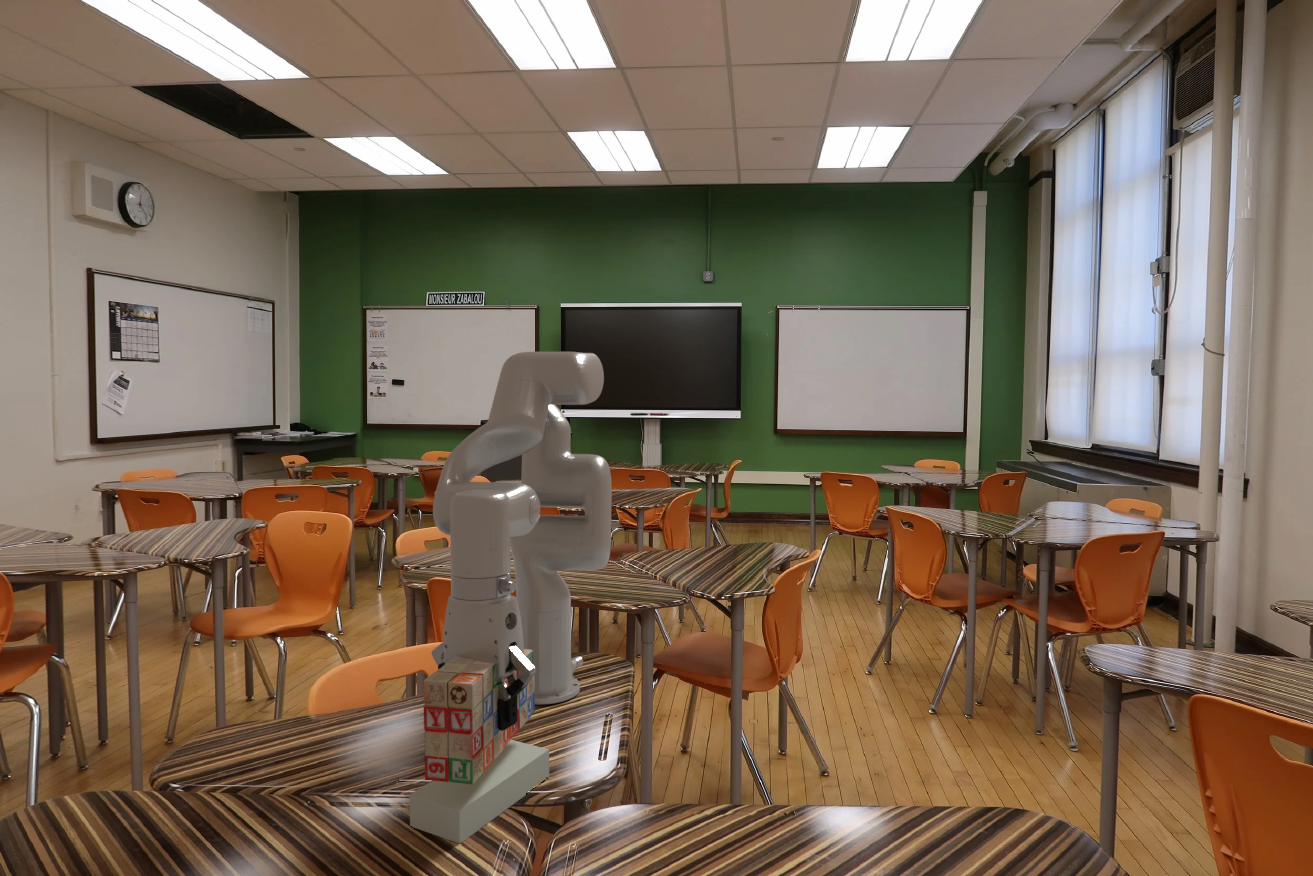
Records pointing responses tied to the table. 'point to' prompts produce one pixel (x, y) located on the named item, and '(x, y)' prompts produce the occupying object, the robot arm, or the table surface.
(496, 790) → the base block
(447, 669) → the stack of blocks
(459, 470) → the robot arm
